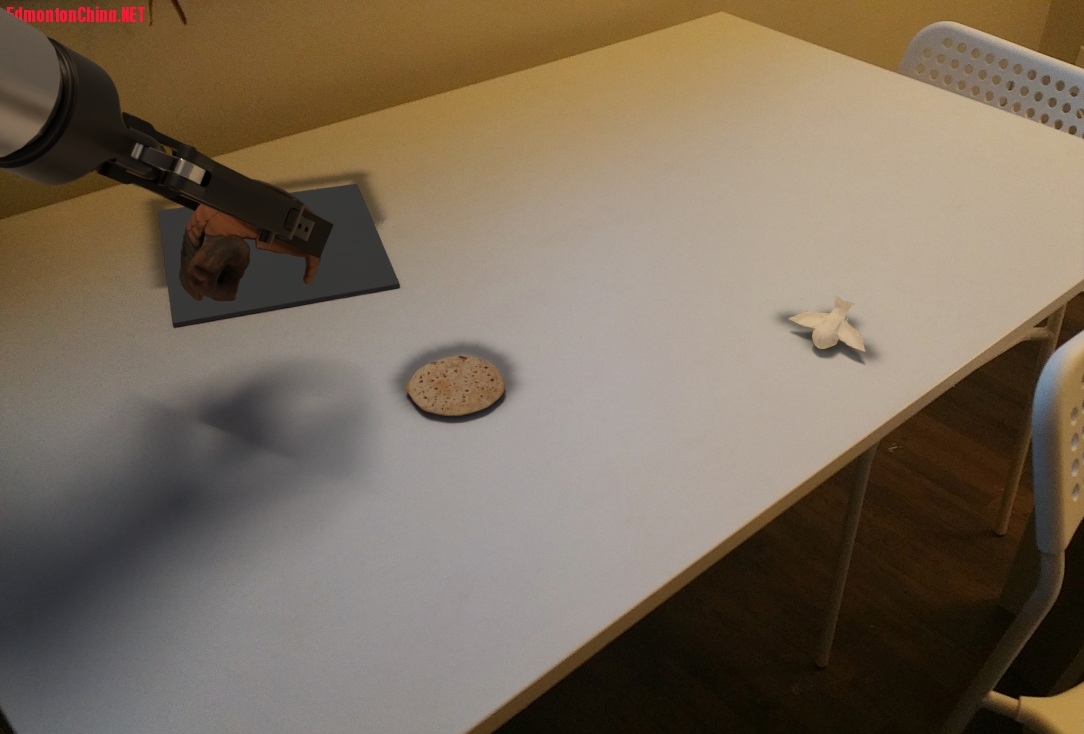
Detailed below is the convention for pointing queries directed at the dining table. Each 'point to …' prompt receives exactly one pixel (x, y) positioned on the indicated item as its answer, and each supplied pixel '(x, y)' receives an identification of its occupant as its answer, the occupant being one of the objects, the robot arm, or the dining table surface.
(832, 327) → the white bird figurine
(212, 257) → the broken brown clay pot
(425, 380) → the flatbread
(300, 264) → the placemat
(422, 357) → the dining table surface
